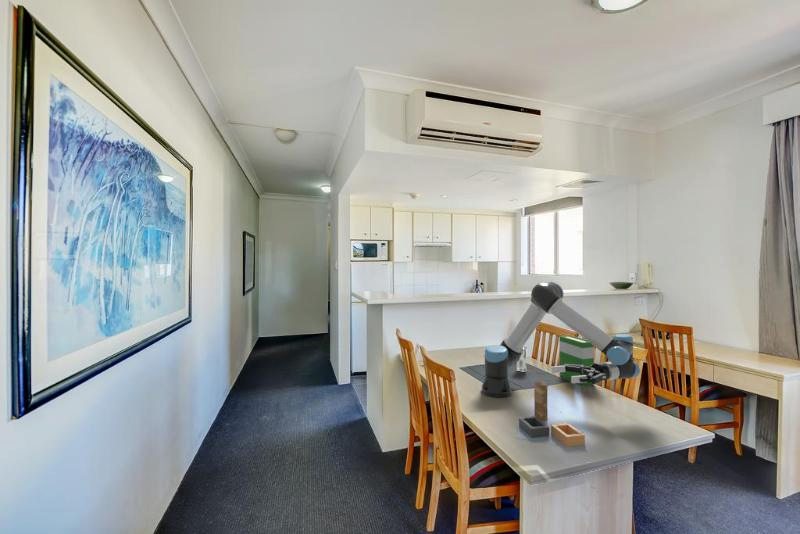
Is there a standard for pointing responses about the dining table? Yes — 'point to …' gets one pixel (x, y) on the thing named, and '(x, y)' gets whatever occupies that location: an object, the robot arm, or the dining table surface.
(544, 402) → the oak slat
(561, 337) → the hardback book
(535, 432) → the grey open box
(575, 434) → the orange open box
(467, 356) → the dining table surface
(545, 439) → the board
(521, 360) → the beer glass
